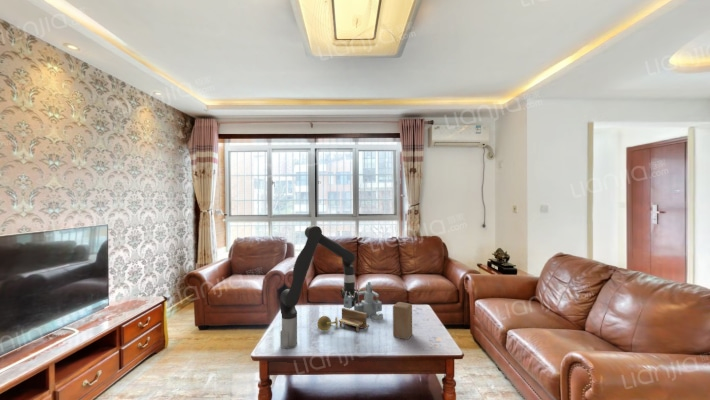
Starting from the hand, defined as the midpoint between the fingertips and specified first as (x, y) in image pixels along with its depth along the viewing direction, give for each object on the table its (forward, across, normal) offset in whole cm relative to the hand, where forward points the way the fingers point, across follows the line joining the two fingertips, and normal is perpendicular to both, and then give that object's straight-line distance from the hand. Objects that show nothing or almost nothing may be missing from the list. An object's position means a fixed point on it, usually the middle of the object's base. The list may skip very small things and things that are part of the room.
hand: (349, 305), depth 197 cm
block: (+17, +35, +10) cm, 40 cm away
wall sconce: (+15, -19, -3) cm, 25 cm away
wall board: (+16, -1, +5) cm, 17 cm away
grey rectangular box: (+1, 0, 0) cm, 1 cm away
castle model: (+17, -1, +24) cm, 30 cm away
